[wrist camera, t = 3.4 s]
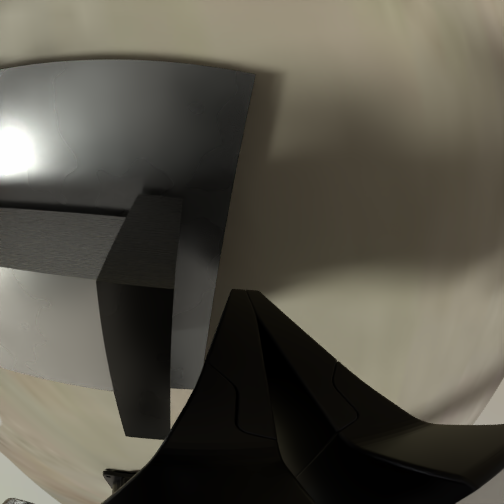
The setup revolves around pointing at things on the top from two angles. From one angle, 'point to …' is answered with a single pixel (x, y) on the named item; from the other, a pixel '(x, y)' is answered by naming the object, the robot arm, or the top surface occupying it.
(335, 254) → the top surface
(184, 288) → the grey tray
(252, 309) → the robot arm
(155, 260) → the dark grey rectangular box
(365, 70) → the top surface
